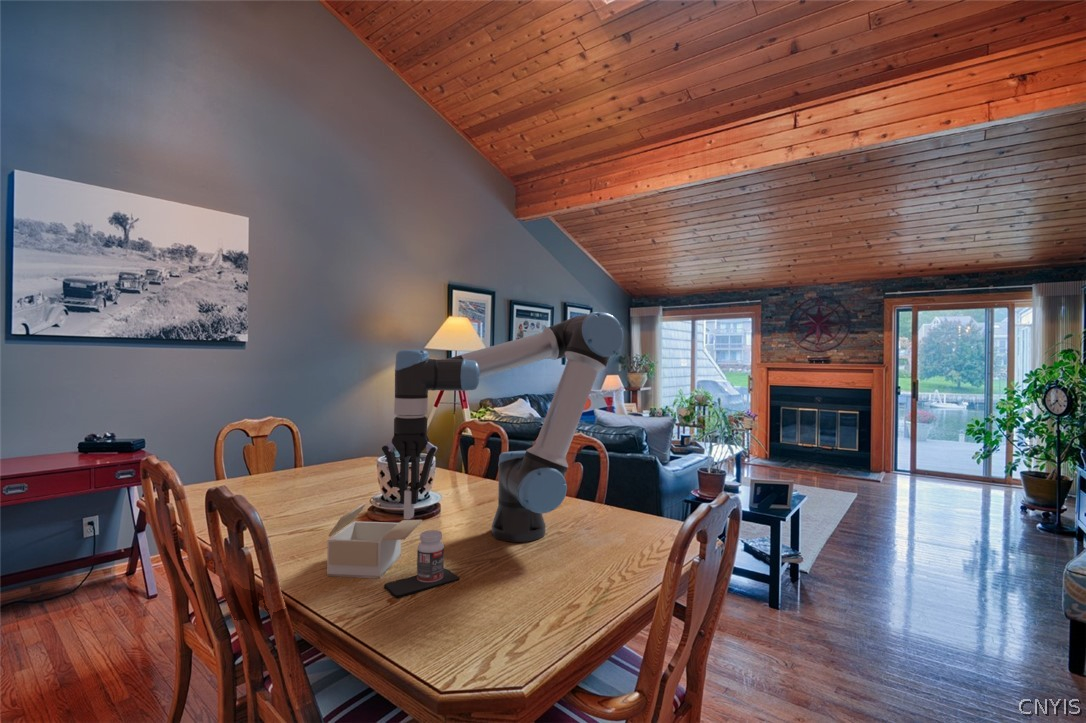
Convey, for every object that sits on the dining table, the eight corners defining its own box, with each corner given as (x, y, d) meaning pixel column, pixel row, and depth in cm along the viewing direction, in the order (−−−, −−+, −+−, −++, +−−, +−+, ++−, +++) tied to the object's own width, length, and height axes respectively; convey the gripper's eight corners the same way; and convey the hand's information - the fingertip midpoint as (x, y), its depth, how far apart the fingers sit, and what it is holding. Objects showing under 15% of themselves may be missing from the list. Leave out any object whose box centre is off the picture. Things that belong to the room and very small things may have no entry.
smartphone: (461, 578, 108) (395, 596, 98) (461, 582, 108) (395, 601, 98) (445, 567, 114) (381, 583, 104) (445, 571, 114) (381, 587, 104)
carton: (401, 554, 121) (401, 522, 121) (379, 579, 108) (379, 542, 108) (354, 552, 122) (354, 520, 122) (326, 576, 108) (326, 540, 108)
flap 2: (402, 522, 121) (422, 521, 120) (382, 540, 108) (404, 539, 108) (402, 520, 121) (422, 519, 120) (382, 537, 108) (404, 537, 108)
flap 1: (355, 519, 121) (366, 503, 121) (330, 536, 109) (342, 518, 109) (353, 518, 122) (364, 501, 121) (328, 535, 109) (341, 517, 109)
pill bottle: (436, 585, 105) (437, 539, 105) (412, 582, 106) (412, 536, 106) (447, 574, 110) (448, 530, 111) (423, 572, 112) (424, 528, 112)
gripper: (442, 415, 118) (440, 513, 118) (389, 413, 119) (387, 511, 118) (433, 418, 110) (431, 523, 110) (377, 417, 111) (375, 521, 111)
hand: (408, 517), depth 114 cm, fingers closed
